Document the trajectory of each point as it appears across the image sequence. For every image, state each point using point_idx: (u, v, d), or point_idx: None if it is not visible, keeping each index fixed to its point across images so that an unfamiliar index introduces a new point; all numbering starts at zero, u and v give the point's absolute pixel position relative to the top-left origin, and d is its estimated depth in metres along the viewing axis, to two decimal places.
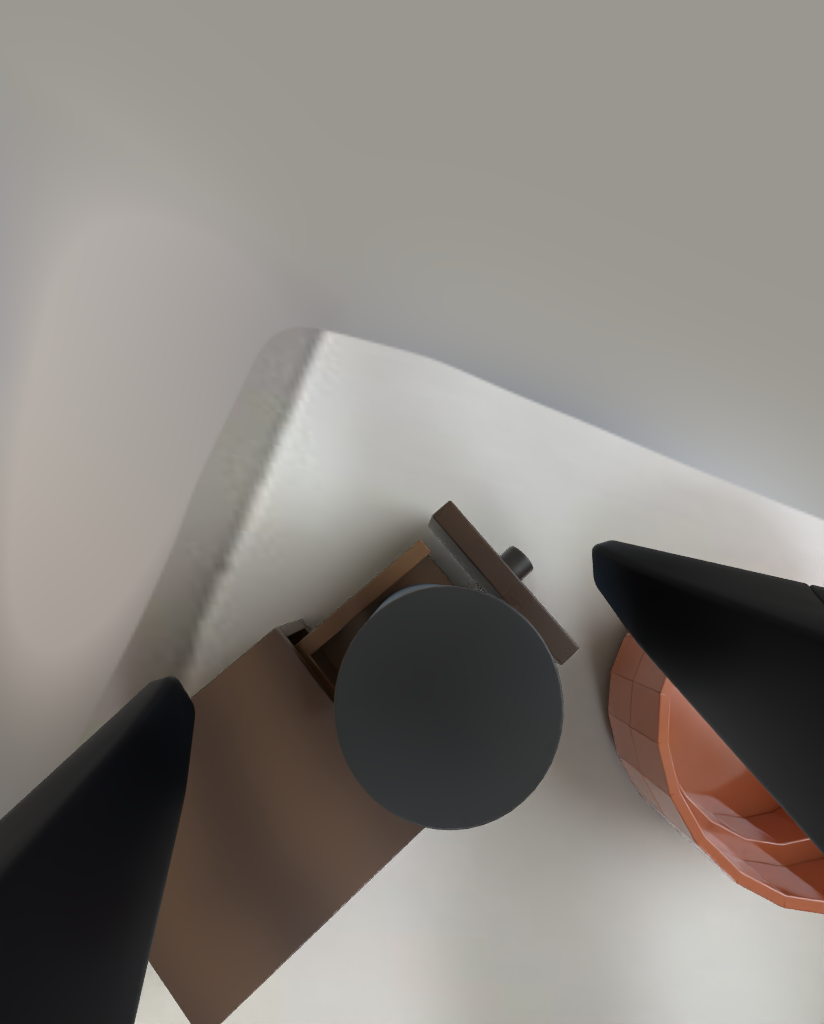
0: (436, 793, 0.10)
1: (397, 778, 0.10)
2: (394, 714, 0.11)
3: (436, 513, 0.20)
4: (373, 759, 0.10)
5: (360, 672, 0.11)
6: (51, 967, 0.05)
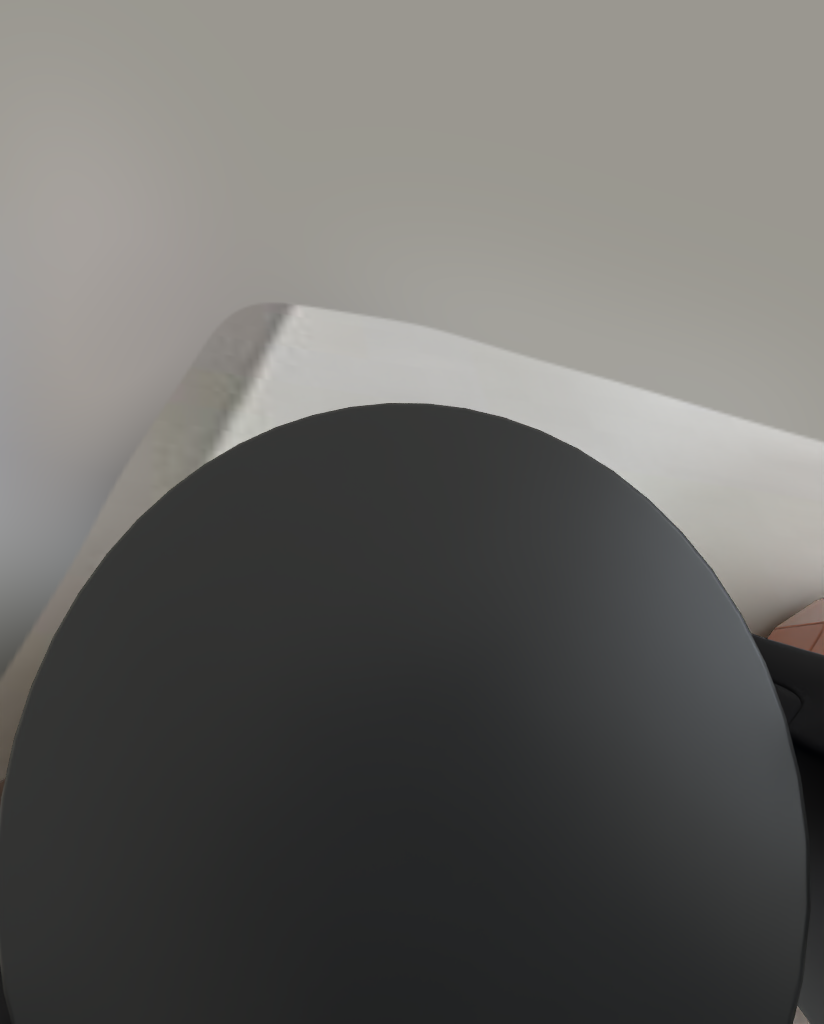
0: None
1: None
2: (202, 772, 0.03)
3: None
4: (101, 959, 0.03)
5: (118, 634, 0.03)
6: None
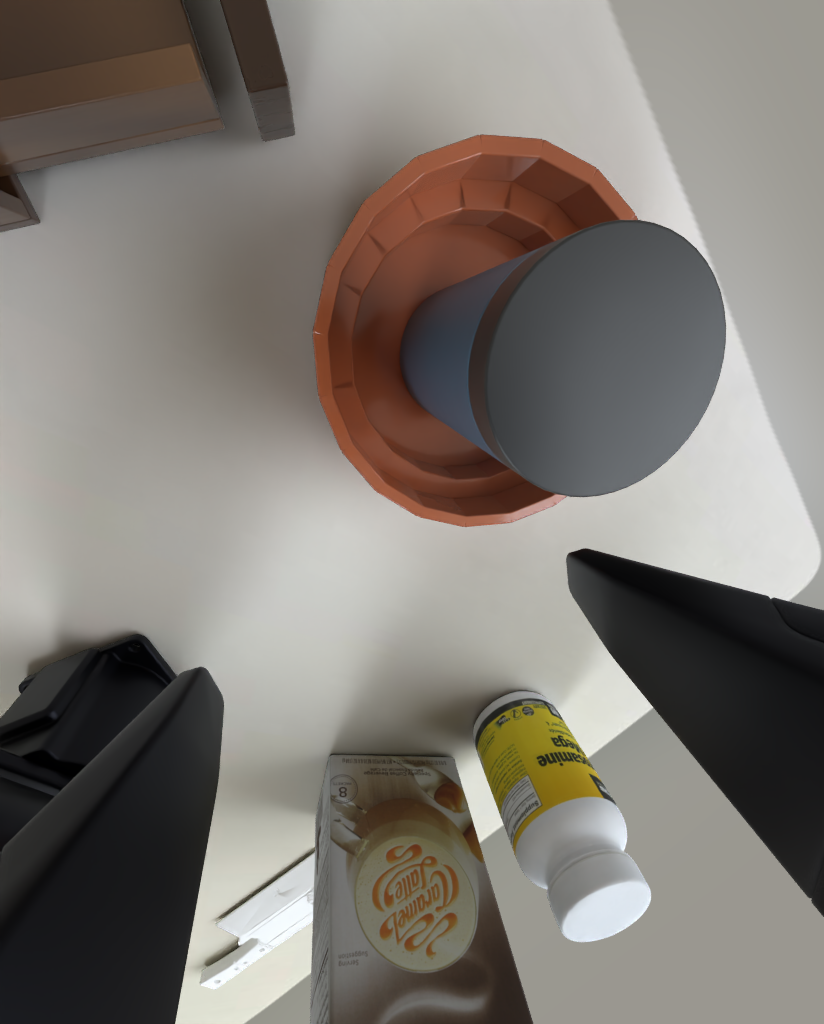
0: (523, 406, 0.09)
1: (521, 358, 0.09)
2: (581, 319, 0.09)
3: None
4: (530, 321, 0.09)
5: (612, 252, 0.08)
6: (103, 949, 0.05)
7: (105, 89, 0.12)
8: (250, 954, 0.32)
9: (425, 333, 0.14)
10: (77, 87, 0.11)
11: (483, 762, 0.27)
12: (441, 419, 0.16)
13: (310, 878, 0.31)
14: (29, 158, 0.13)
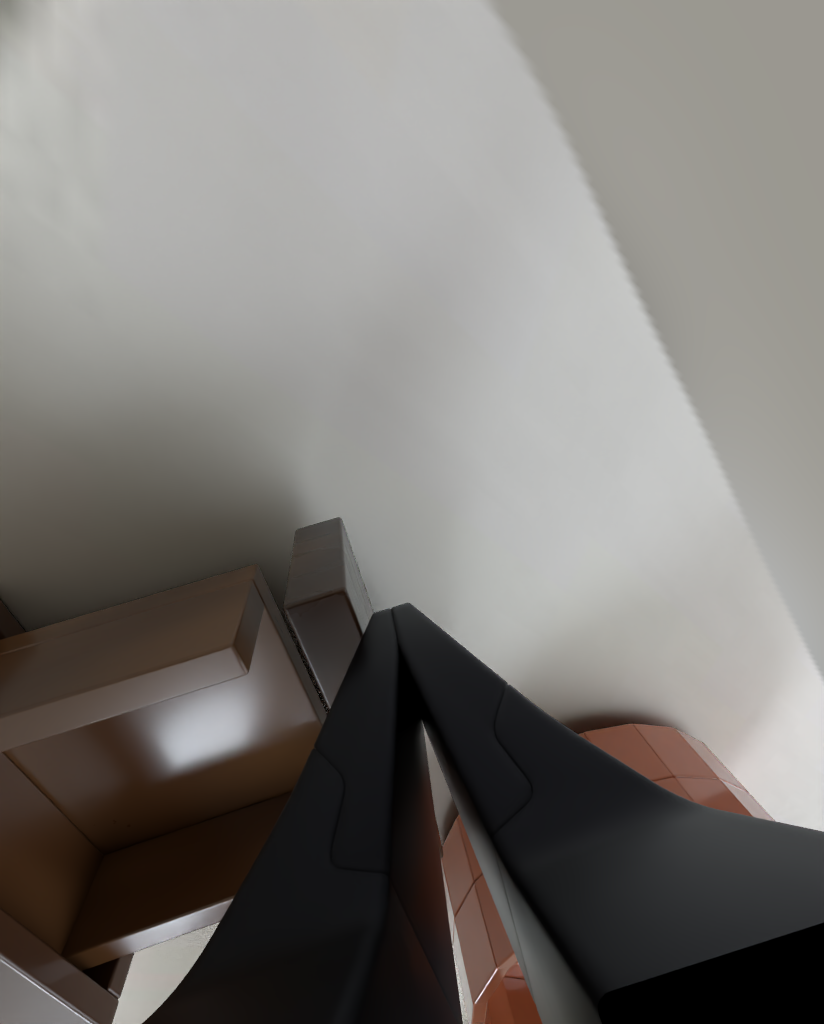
0: None
1: None
2: None
3: (296, 606, 0.08)
4: None
5: None
6: (419, 839, 0.05)
7: None
8: None
9: None
10: None
11: None
12: None
13: None
14: None
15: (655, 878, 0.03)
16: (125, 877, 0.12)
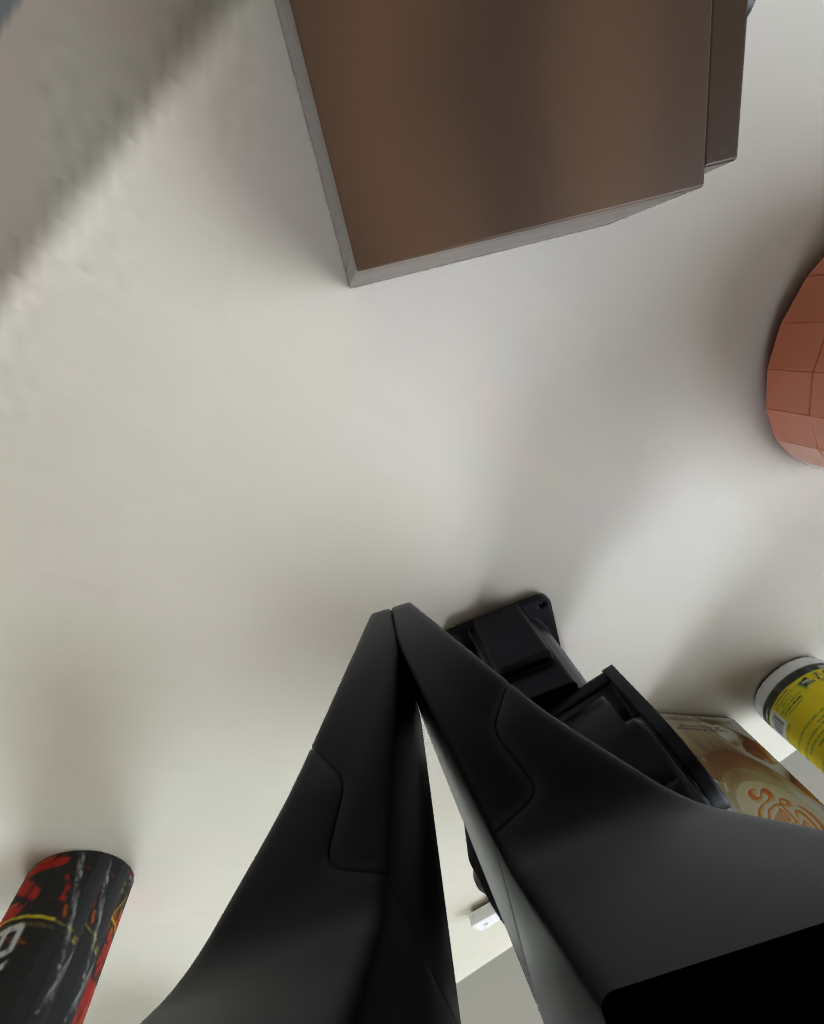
0: None
1: None
2: None
3: None
4: None
5: None
6: (417, 839, 0.05)
7: None
8: None
9: None
10: None
11: (787, 720, 0.29)
12: None
13: None
14: None
15: (657, 875, 0.03)
16: None
